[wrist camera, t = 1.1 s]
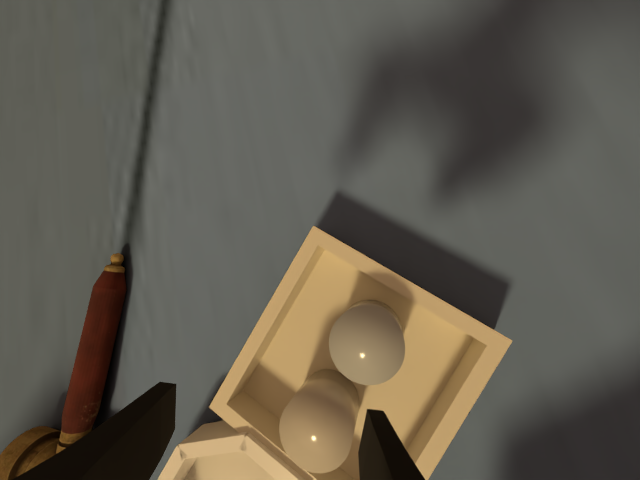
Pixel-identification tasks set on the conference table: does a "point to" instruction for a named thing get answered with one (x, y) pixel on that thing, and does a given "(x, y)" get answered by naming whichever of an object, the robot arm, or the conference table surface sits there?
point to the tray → (313, 355)
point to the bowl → (225, 457)
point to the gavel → (77, 378)
